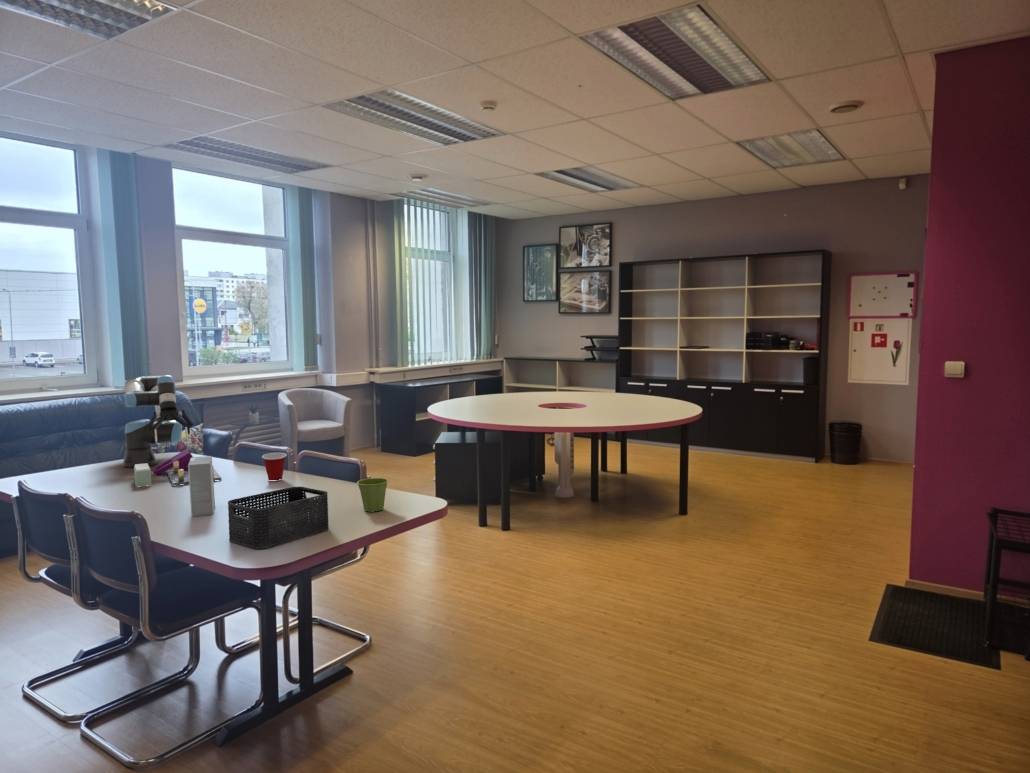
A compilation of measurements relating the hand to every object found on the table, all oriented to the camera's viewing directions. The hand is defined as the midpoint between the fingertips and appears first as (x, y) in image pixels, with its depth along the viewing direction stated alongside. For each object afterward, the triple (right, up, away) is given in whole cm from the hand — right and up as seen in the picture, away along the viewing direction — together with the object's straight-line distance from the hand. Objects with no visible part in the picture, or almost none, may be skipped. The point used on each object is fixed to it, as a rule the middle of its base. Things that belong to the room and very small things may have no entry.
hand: (172, 441), depth 328 cm
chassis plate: (+16, -16, -12) cm, 26 cm away
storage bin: (+90, -24, -103) cm, 139 cm away
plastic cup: (+58, -17, -20) cm, 64 cm away
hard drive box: (+49, -21, -72) cm, 89 cm away
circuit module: (-1, -18, -23) cm, 29 cm away
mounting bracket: (0, -16, +2) cm, 16 cm away
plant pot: (+115, -21, -73) cm, 138 cm away
